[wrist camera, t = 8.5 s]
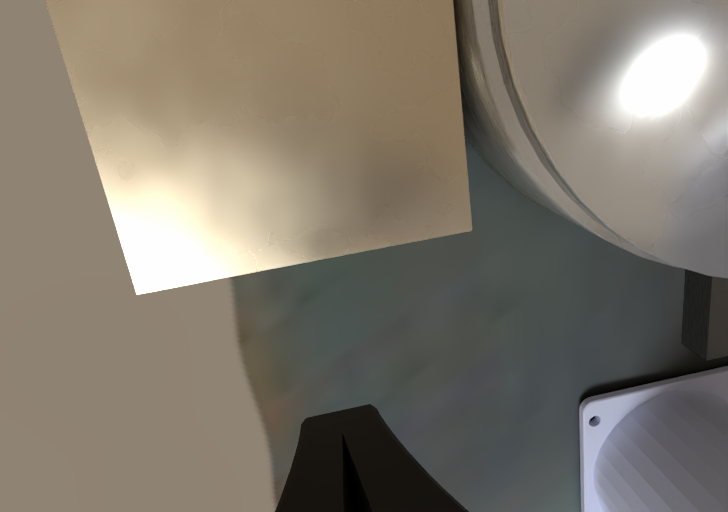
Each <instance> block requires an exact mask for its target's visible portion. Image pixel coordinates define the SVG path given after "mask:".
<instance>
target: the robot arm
mask: <svg viewBox="0 0 728 512" xmlns="http://www.w3.org/2000/svg"><path fill="white" fill-rule="evenodd" d="M594 416H595V418H594V419H593V420H591V421H589V420H590V419H591V418H592V417H594ZM579 421H580V479H581V512H728V366H725V367H720V368H716V369H712V370H707V371H703V372H698V373H694V374H689V375H685V376H680V377H676V378H672V379H667V380H663V381H658V382H654V383H649V384H645V385H640V386H636V387H632V388H627V389H623V390H618V391H614V392H609V393H605V394H600V395H596V396H592V397H588V398H586V399H585V400H584V401H582V403H581V405H580V408H579ZM275 512H469V511H468V510H466V509H465V508H464V507H463V506H462V505H461V504H460V503H459V502H457V501H456V500H455V499H454V498H453V497H452V496H451V495H450V494H449V493H448V492H447V491H446V490H445V489H444V488H442V487H441V486H440V485H439V484H438V483H437V482H436V481H435V480H434V479H433V478H432V477H431V476H430V475H429V474H428V473H427V471H426V470H425V469H424V468H423V467H422V466H421V465H420V464H419V463H418V462H417V461H416V460H415V458H414V457H413V456H412V455H411V454H410V453H409V452H408V451H407V450H406V448H405V447H404V446H403V445H402V444H401V442H400V441H399V440H398V439H397V437H396V436H395V435H394V434H393V432H392V431H391V430H390V428H389V427H388V426H387V424H386V423H385V421H384V420H383V418H382V417H381V415H380V414H379V412H378V410H377V408H375V407H374V406H372V405H371V404H369V405H364V406H359V407H355V408H350V409H346V410H341V411H336V412H332V413H327V414H323V415H318V416H313V417H309V418H306V419H305V420H304V422H303V423H302V424H301V431H300V436H299V441H298V445H297V449H296V453H295V456H294V460H293V463H292V466H291V470H290V473H289V475H288V478H287V481H286V484H285V487H284V490H283V492H282V495H281V498H280V501H279V503H278V506H277V508H276V511H275Z"/></svg>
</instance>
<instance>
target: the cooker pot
mask: <svg viewBox="0 0 728 512" xmlns="http://www.w3.org/2000/svg"><path fill="white" fill-rule="evenodd" d="M45 1H46V4H47V7H48V10H49V13H50V17H51V20H52V23H53V26H54V30H55V33H56V36H57V39H58V42H59V46H60V49H61V52H62V55H63V59H64V62H65V65H66V68H67V71H68V74H69V77H70V81H71V84H72V87H73V91H74V94H75V97H76V100H77V104H78V107H79V110H80V113H81V116H82V120H83V122H84V126H85V129H86V132H87V136H88V139H89V142H90V145H91V148H92V152H93V155H94V158H95V161H96V164H97V168H98V171H99V174H100V177H101V181H102V183H103V187H104V190H105V193H106V196H107V200H108V203H109V206H110V210H111V213H112V215H113V219H114V222H115V226H116V229H117V232H118V235H119V238H120V241H121V245H122V248H123V251H124V254H125V258H126V261H127V264H128V267H129V271H130V274H131V277H132V280H133V283H134V287H135V290H136V293H137V295H138V294H142V293H148V292H153V291H159V290H164V289H169V288H174V287H179V286H184V285H190V284H195V283H200V282H206V281H211V280H216V279H221V278H227V277H232V276H237V275H242V274H248V273H253V272H258V271H263V270H268V269H274V268H279V267H284V266H289V265H295V264H300V263H305V262H310V261H316V260H321V259H326V258H331V257H337V256H342V255H347V254H352V253H357V252H363V251H368V250H373V249H378V248H384V247H389V246H394V245H399V244H405V243H410V242H415V241H420V240H425V239H431V238H436V237H441V236H446V235H452V234H457V233H462V232H467V231H472V221H471V209H470V197H469V185H468V173H467V161H466V149H465V137H464V135H465V136H466V138H467V140H468V141H469V142H470V144H471V145H472V146H473V147H474V148H475V150H476V151H477V152H478V153H479V155H480V156H481V157H482V158H483V159H484V161H485V162H486V163H487V164H488V165H489V166H490V167H491V168H492V169H493V170H494V171H495V172H496V173H497V174H498V175H499V176H501V177H502V178H503V179H504V180H505V181H506V182H507V183H508V184H509V185H510V186H512V187H513V188H515V189H516V190H518V191H519V192H521V193H522V194H524V195H525V196H527V197H528V198H530V199H531V200H533V201H534V202H536V203H538V204H540V205H541V206H543V207H545V208H547V209H549V210H551V211H553V212H554V213H556V214H558V215H560V216H562V217H564V218H566V219H568V220H569V221H571V222H573V223H575V224H577V225H579V226H581V227H582V228H584V229H586V230H588V231H590V232H592V233H594V234H596V235H597V236H599V237H601V238H603V239H605V240H607V241H609V242H610V243H613V244H615V245H617V246H619V247H621V248H623V249H625V250H627V251H630V252H632V253H634V254H636V255H638V256H640V257H643V258H646V259H650V260H653V261H656V262H660V263H663V264H667V265H670V266H673V267H677V266H674V265H672V264H670V263H668V262H666V261H664V260H662V259H660V258H658V257H655V256H653V255H651V254H649V253H647V252H645V251H643V250H641V249H639V248H637V247H635V246H633V245H631V244H629V243H627V242H625V241H623V240H621V239H620V238H618V237H617V236H615V235H614V234H613V233H611V232H610V231H608V230H607V229H605V228H604V227H602V226H601V225H599V224H598V223H597V222H595V221H594V220H592V219H591V218H590V217H589V216H588V215H587V214H586V213H585V212H584V211H583V210H582V209H581V208H580V207H578V206H577V205H576V204H575V203H574V202H573V201H572V200H571V199H570V198H569V197H568V196H567V195H566V194H565V193H564V192H563V190H562V189H561V188H560V187H559V185H558V184H557V183H556V181H555V180H554V179H553V177H552V176H551V175H550V174H549V172H548V171H547V170H546V168H545V167H544V166H543V164H542V163H541V162H540V160H539V158H538V156H537V154H536V153H535V151H534V149H533V147H532V146H531V144H530V142H529V140H528V138H527V137H526V135H525V133H524V131H523V130H522V128H521V126H520V123H519V121H518V118H517V116H516V113H515V111H514V108H513V106H512V103H511V100H510V98H509V95H508V93H507V90H506V88H505V85H504V82H503V78H502V74H501V70H500V66H499V62H498V58H497V54H496V50H495V46H494V42H493V38H492V30H491V22H490V14H489V6H488V0H45ZM680 268H681V267H680ZM681 344H683V345H684V346H686V347H687V348H689V349H690V350H691V351H693V352H694V353H696V354H697V355H699V356H700V357H702V358H703V359H705V360H706V361H707V360H712V359H716V358H721V357H725V356H728V278H721V277H714V276H708V275H704V274H701V273H698V272H694V271H691V270H687V269H685V286H684V304H683V323H682V341H681Z"/></svg>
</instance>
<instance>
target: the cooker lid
mask: <svg viewBox="0 0 728 512" xmlns="http://www.w3.org/2000/svg"><path fill="white" fill-rule="evenodd" d="M488 6H489V14H490V22H491V30H492V38H493V42H494V46H495V50H496V54H497V58H498V62H499V66H500V70H501V74H502V78H503V82H504V85H505V88H506V90H507V93H508V95H509V98H510V100H511V103H512V106H513V108H514V111H515V113H516V116H517V118H518V121H519V123H520V126H521V128H522V130H523V131H524V133H525V135H526V137H527V138H528V140H529V142H530V144H531V146H532V147H533V149H534V151H535V153H536V154H537V156H538V158H539V160H540V162H541V163H542V164H543V166H544V167H545V168H546V170H547V171H548V172H549V174H550V175H551V176H552V177H553V179H554V180H555V181H556V183H557V184H558V185H559V187H560V188H561V189H562V190H563V192H564V193H565V194H566V195H567V196H568V197H569V198H570V199H571V200H572V201H573V202H574V203H575V204H576V205H577V206H578V207H580V208H581V209H582V210H583V211H584V212H585V213H586V214H587V215H588V216H589V217H590V218H591V219H592V220H594V221H595V222H597V223H598V224H599V225H601V226H602V227H604V228H605V229H607V230H608V231H610V232H611V233H613V234H614V235H615V236H617V237H618V238H620V239H621V240H623V241H625V242H627V243H629V244H631V245H633V246H635V247H637V248H639V249H641V250H643V251H645V252H647V253H649V254H651V255H653V256H655V257H658V258H660V259H662V260H664V261H666V262H668V263H670V264H672V265H674V266H677V267H681V268H684V269H687V270H691V271H694V272H698V273H701V274H704V275H708V276H714V277H721V278H728V0H488Z"/></svg>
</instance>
